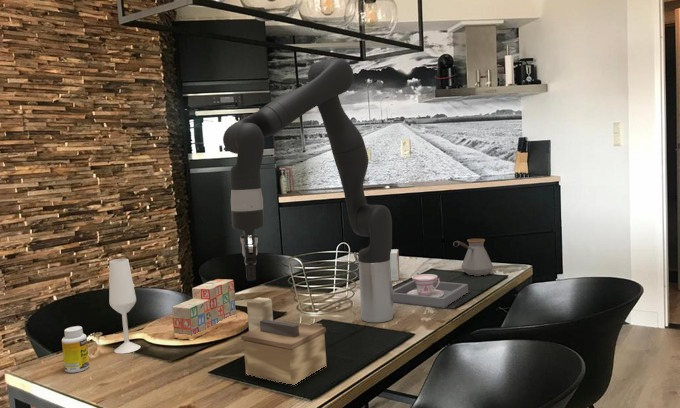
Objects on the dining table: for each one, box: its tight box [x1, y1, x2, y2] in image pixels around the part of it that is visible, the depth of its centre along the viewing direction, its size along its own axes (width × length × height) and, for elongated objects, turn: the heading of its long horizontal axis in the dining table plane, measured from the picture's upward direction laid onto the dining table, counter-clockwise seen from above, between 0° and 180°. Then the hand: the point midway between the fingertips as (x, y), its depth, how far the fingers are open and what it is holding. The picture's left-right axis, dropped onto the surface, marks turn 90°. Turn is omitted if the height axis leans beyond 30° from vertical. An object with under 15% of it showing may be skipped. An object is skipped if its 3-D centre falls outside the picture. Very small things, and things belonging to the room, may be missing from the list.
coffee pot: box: [452, 238, 494, 277], centre depth 213 cm, size 21×12×15 cm, turn 140°
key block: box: [246, 296, 274, 332], centre depth 151 cm, size 4×4×12 cm
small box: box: [390, 248, 401, 282], centre depth 217 cm, size 8×6×10 cm
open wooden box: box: [242, 333, 327, 386], centre depth 133 cm, size 12×14×8 cm
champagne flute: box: [108, 258, 141, 354], centre depth 154 cm, size 7×7×24 cm
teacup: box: [407, 273, 444, 297], centre depth 189 cm, size 12×12×6 cm
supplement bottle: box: [61, 325, 90, 374], centre depth 141 cm, size 6×6×10 cm
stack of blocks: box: [172, 278, 237, 336], centre depth 169 cm, size 21×6×12 cm, turn 156°
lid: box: [240, 319, 327, 349], centre depth 133 cm, size 14×15×3 cm
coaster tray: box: [393, 279, 469, 309], centre depth 188 cm, size 19×19×3 cm
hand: (251, 279), depth 139 cm, fingers closed
